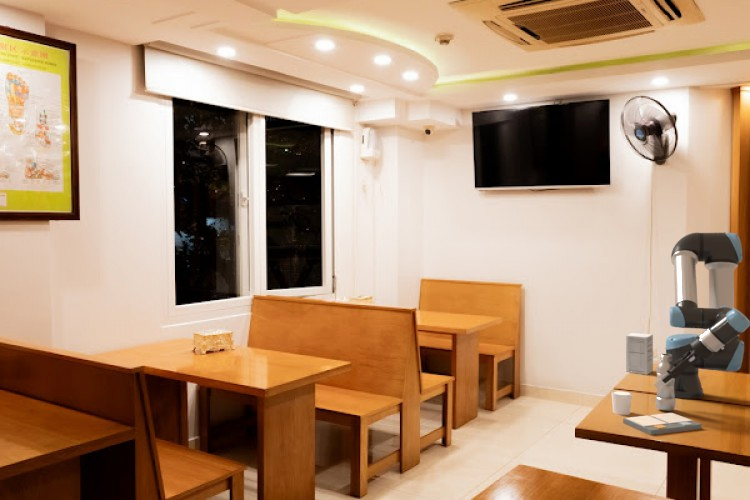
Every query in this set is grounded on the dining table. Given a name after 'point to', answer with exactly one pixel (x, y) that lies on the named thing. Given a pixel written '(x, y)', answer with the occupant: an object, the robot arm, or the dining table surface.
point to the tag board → (662, 423)
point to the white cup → (621, 402)
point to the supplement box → (639, 353)
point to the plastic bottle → (665, 394)
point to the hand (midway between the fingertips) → (658, 383)
